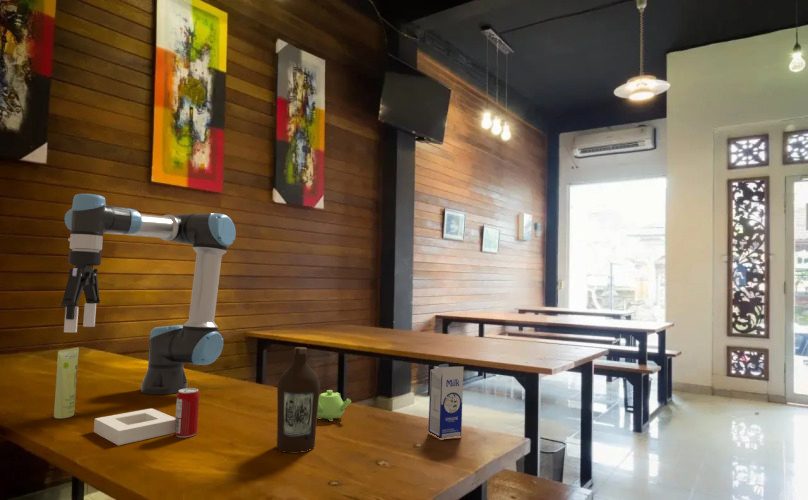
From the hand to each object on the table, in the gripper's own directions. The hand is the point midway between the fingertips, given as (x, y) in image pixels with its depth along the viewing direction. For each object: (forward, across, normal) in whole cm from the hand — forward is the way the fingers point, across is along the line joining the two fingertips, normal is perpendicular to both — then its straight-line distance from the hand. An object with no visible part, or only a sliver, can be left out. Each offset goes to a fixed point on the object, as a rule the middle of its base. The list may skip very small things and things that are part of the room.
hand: (80, 329), depth 136 cm
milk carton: (+27, +19, +99) cm, 104 cm away
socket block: (+27, +4, +16) cm, 32 cm away
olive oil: (+27, +22, +58) cm, 67 cm away
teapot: (+27, -2, +68) cm, 73 cm away
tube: (+27, -13, -7) cm, 31 cm away
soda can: (+27, +8, +29) cm, 41 cm away
